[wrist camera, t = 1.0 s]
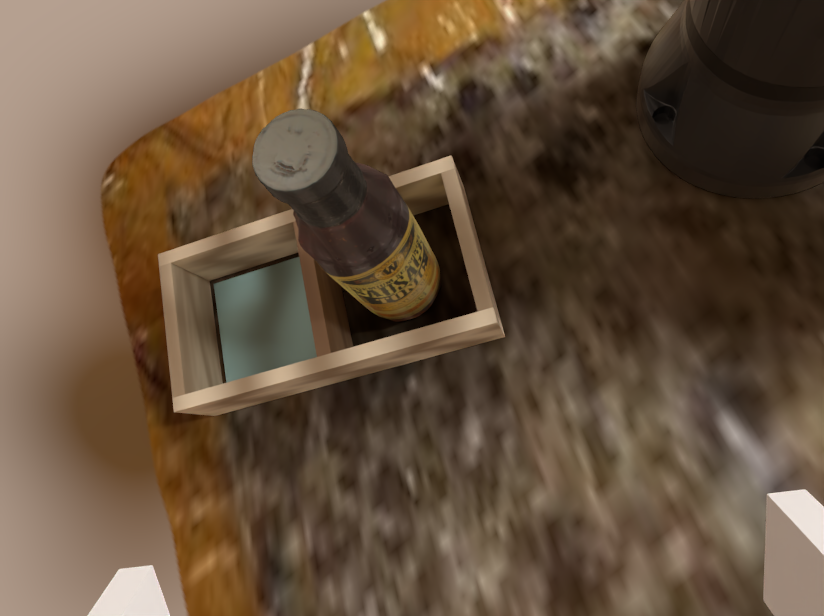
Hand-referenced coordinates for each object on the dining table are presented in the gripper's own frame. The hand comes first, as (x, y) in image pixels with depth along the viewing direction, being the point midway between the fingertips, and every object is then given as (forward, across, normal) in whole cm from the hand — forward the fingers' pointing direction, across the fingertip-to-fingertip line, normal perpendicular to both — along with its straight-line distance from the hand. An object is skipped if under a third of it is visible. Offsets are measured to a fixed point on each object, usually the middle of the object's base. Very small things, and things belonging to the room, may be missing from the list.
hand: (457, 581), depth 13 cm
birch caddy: (+32, -8, -2) cm, 33 cm away
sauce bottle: (+32, -2, -2) cm, 32 cm away
